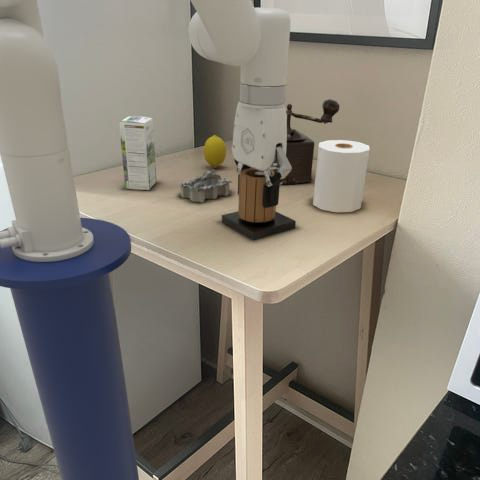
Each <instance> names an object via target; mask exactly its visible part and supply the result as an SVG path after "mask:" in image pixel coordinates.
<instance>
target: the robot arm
mask: <svg viewBox="0 0 480 480" xmlns="http://www.w3.org/2000/svg"><path fill="white" fill-rule="evenodd" d="M189 1H190V3H191V4H192V6H193V8H194V9H195V11H196V12H195V13H194V14H193V15H192V17H191V18H190V21H189V24H188V31H187V32H188V33H187V34H188V38H189V42H190V44H191V46H192V48H193V50H194V51H195V52H196V53H197V54H198V55H199V56H201V57H202V58H204V59H206V60H209V61H212V62H215V63H220V64H223V65H225V66H230V67H239V66H240V80H239V82H240V83H239V85H240V86H239V101H238V102H237V105H236V110H235V115H234V122H233V133H232V145H231V147H230V150H231V153H232V157H233V160H234V163H235V165H236V169H235V171H236V173H237V195H238V196H239V177H240V172H241V171H242V170H244V169H249V168H255V169H257V170H260V171H264V176H265V180H266V184H267V185H264V189H263V207H264V208H268V207H273V206H276V207H277V206H278V205H279V198H280V188H281V187H280V186H281V185H283V184H282V182H283V180H284V179H285V178H286V176H287V175H288V174H289V172H290V171H291V170H292V167H291V165H290V163H289V161H288V159H287V157H286V147H287V114H286V111H287V107H286V106H285V105H286V91H287V81H288V80H287V78H288V66H289V65H288V63H289V52H290V51H289V50H290V37H291V36H290V35H291V16H290V13H289V12H288V11H287V10H286V9H285V8H284V9H283V8H278V7H255V6H254V3H253V1H252V0H189ZM43 31H44V30H43V25H42V19H41V15H40V10H39V4H38V0H0V158H1V163H2V167H3V171H4V176H5V181H6V183H7V184H6V185H7V188H8V193H9V197H10V201H11V204H12V210H13V214H14V217H15V219H14V220H11V221H10V222H11V225H12V226H9V227H6V229H7V230H6V231H2V230H0V231H1V232H0V246H1V248H7V247H11V246H12V249H13V253H14V254H15V255H16V256H17V257H19V258H21V259H23V260H26V261H32V262H56V261H62V260H66V259H70V258H74V257H76V256H79V255H81V254H83V253H85V252H86V251H88V250H89V249H90V248H91V247H92V246H93V244H94V238H93V234H92V233H91V232H90V231H89V230H87V229H85V228H83V227H82V225H81V219H80V218H81V213H80V209H79V201H78V195H77V190H76V189H77V188H76V183H75V178H74V172H73V166H72V159H71V154H70V148H69V143H68V136H67V131H66V125H65V118H64V112H63V111H64V110H63V103H62V95H61V84H60V77H59V75H60V74H59V70H58V65H57V62H56V61H57V60H56V58H55V55H54V52H53V51H52V49H51V46H50V45H49V43H48V41H47V40H46V39H45V36H44V32H43ZM271 165H272V166H271ZM273 170H274V175H273V176H272V177H271V172H270V171H273Z"/></svg>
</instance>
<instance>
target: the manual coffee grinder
mask: <svg viewBox="0 0 480 480" xmlns="http://www.w3.org/2000/svg"><path fill="white" fill-rule="evenodd" d="M321 106H322V111H323V114H322V115H321V117H320V118H317V117H314V116H311V115H306V114H300V113H295V112H293V110H292V108H293V104H292V103H287V105H286V120H287V147H286V157H287V159H288V161H289V163H290V165H291V167H292V170H291V171H290V172H289V174H288V175H287V176H286V178H285V179H284V180H283V182H282V184H281V185H294V184H303V183H311V182H313V181H312V173H313V163H314V162H313V161H314V152H315V141H314V140H313V139H312V138H310V137H309V136H307V135H305V134H304V133H303V132H300V131H298V130H297V129H295V128H292V127H291V119H292V117H294V118H296V119H301V120H307V121H311V122H315V123H317V124H324V125H326V124H328V123H331V124H332V123H333V118H334V116H335V115H336V114H337V113H339V111H340V104H339V103H338V101H337V100H335V99H331V98H328V99H326V100H323V102H322V105H321ZM271 166H272V165H271ZM273 171H274V170H273Z"/></svg>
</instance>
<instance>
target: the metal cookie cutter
mask: <svg viewBox="0 0 480 480" xmlns="http://www.w3.org/2000/svg"><path fill="white" fill-rule="evenodd" d="M231 183H233V181H231V179H227V178H226V177H225V178H223V179H222V176H221V174H220V173H218V172H216V171H215V168H213V169H209V170H206V171H204V172H202V175H200V176H196V177H195V178H193V179H188V180H187V181H184V182H180V183H178V186H179V187H180V196H181V198H183V199H185V198H187V199H189V201H191V202H193V203H194V202H197V203H204V202H205V200H207V199H212V200H215V199H218V196H224V197H227V196H228V195H229V194H230V184H231Z"/></svg>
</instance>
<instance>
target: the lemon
mask: <svg viewBox="0 0 480 480" xmlns="http://www.w3.org/2000/svg"><path fill="white" fill-rule="evenodd" d="M226 156H227V148H226V144H225V141H224V140H223V139H222V138H221V137H219V136H218V135H216V134H213V135H212V136H210V137H208V138H207V139H206V141H205V143H204V146H203V157H204V160H205V162H206V163H207V164H209V165H210V166H211V167H212V168H213V169H216V168H218V167H219V166H220V165H222V164H223V163H224V161H225V160H226Z"/></svg>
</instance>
